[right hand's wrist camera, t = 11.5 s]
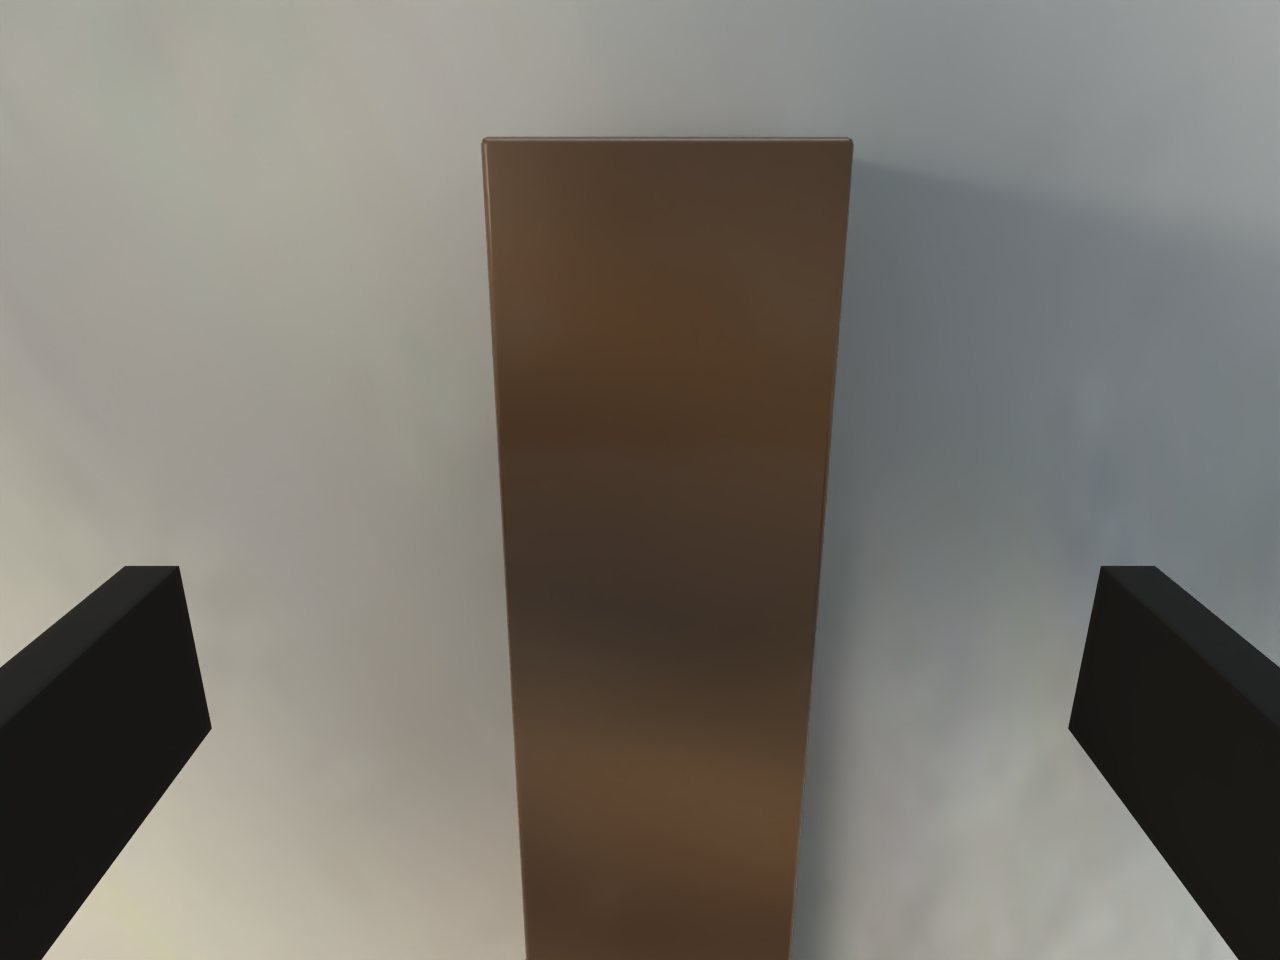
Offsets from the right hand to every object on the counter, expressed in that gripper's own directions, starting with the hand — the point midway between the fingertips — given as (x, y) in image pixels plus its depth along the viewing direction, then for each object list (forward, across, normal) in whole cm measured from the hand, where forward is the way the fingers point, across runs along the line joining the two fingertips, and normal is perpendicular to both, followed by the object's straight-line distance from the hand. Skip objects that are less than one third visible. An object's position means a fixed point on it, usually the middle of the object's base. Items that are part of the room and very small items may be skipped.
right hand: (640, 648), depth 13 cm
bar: (+8, 0, -30) cm, 32 cm away
